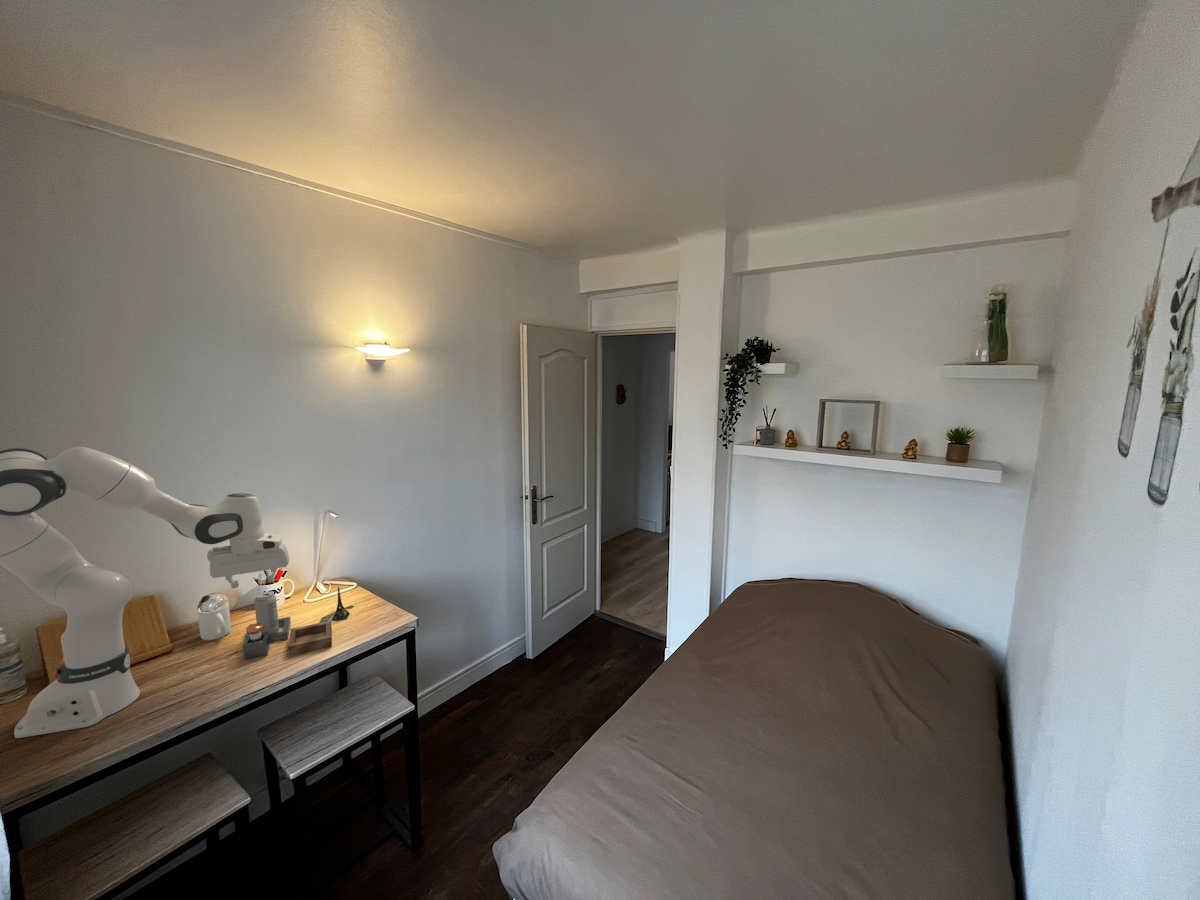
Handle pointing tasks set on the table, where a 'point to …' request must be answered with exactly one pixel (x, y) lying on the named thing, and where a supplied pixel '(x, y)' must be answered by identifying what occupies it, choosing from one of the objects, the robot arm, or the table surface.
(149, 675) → the table surface
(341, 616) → the eiffel tower figurine
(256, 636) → the release plunger
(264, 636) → the socket block
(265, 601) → the energy drink can
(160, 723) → the table surface
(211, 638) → the mug
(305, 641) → the brown wooden tray
